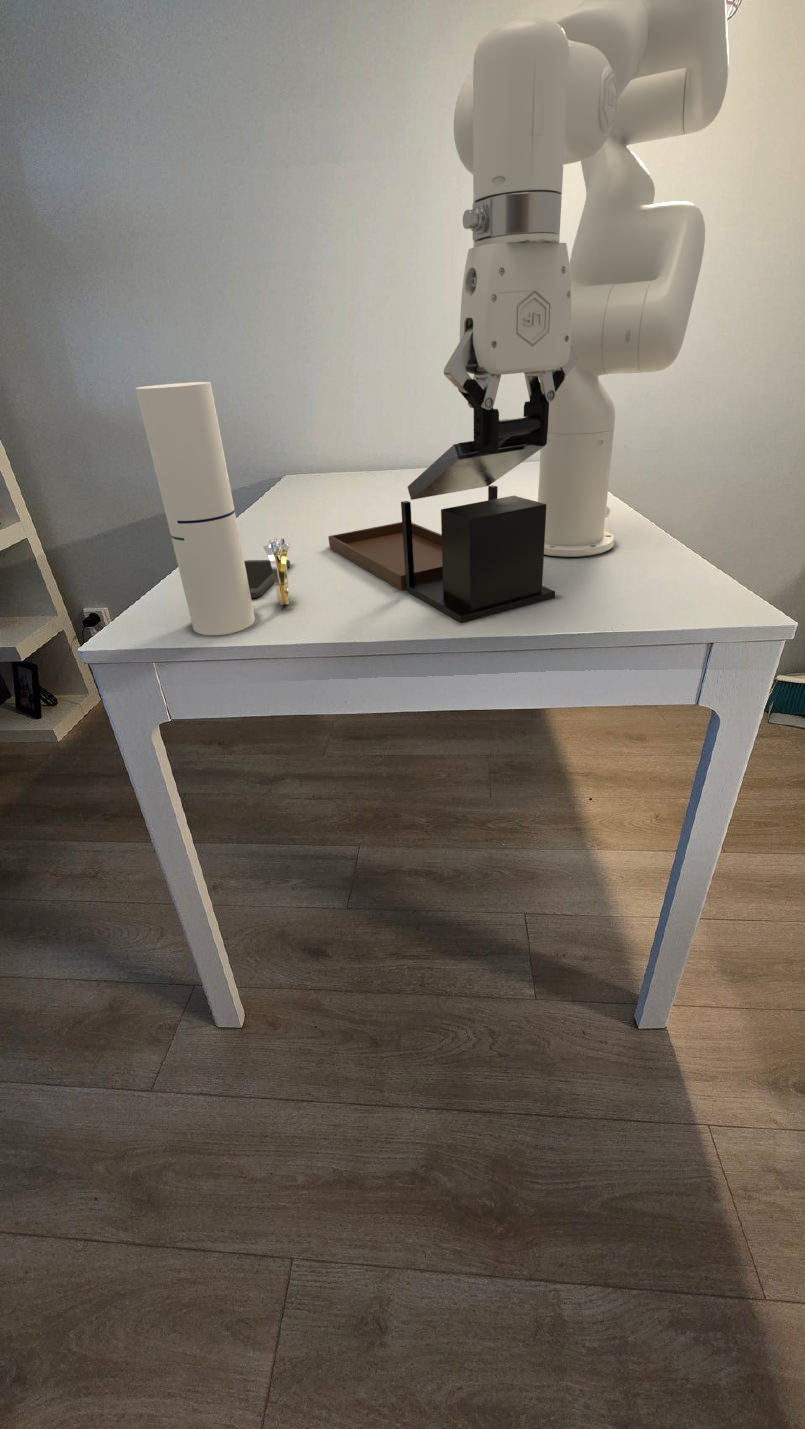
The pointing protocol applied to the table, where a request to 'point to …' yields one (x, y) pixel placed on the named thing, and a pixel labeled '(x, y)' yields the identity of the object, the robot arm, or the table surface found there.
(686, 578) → the table surface
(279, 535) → the table surface
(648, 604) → the table surface
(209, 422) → the cylindrical container
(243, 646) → the table surface
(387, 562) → the tray
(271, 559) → the ring
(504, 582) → the stand
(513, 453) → the dark tilted plate
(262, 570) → the cell phone
